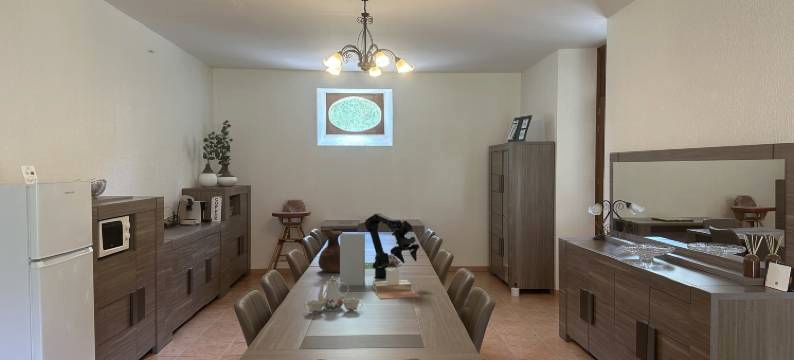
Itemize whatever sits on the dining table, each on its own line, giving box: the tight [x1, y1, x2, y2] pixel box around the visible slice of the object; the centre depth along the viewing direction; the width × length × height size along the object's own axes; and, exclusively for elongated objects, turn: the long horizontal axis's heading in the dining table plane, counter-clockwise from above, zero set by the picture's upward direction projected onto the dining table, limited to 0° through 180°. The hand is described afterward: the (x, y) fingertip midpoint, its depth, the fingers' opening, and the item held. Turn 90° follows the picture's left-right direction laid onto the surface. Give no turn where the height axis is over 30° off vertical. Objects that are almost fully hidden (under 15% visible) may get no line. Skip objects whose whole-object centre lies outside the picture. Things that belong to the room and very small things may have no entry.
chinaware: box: [303, 276, 363, 315], centre depth 248 cm, size 28×17×17 cm, turn 105°
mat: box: [375, 289, 420, 300], centre depth 278 cm, size 13×22×1 cm, turn 104°
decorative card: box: [365, 254, 403, 270], centre depth 359 cm, size 33×8×20 cm
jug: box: [317, 228, 344, 274], centre depth 340 cm, size 22×22×30 cm
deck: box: [372, 279, 412, 292], centre depth 291 cm, size 11×20×4 cm, turn 104°
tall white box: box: [339, 233, 366, 286], centre depth 304 cm, size 14×6×30 cm, turn 84°
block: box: [385, 267, 400, 285], centre depth 289 cm, size 7×6×8 cm
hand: (410, 261), depth 298 cm, fingers open, 9 cm apart
